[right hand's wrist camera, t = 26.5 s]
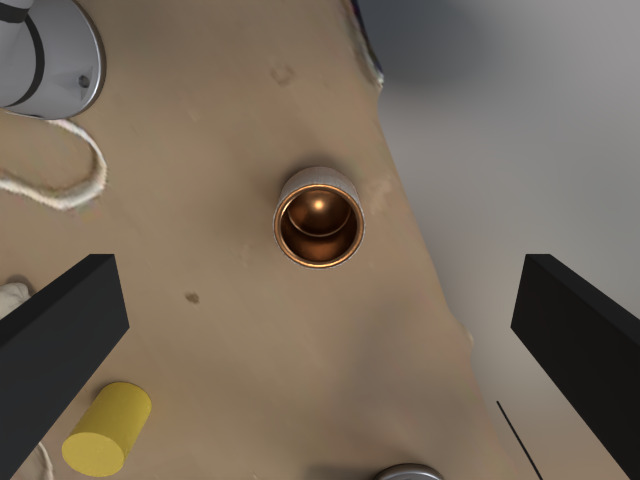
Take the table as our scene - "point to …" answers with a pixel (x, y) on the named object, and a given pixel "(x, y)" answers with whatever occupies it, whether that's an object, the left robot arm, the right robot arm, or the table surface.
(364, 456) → the table surface
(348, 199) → the planter
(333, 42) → the table surface
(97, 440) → the canister
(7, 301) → the dog toy
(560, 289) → the right robot arm
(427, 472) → the left robot arm
